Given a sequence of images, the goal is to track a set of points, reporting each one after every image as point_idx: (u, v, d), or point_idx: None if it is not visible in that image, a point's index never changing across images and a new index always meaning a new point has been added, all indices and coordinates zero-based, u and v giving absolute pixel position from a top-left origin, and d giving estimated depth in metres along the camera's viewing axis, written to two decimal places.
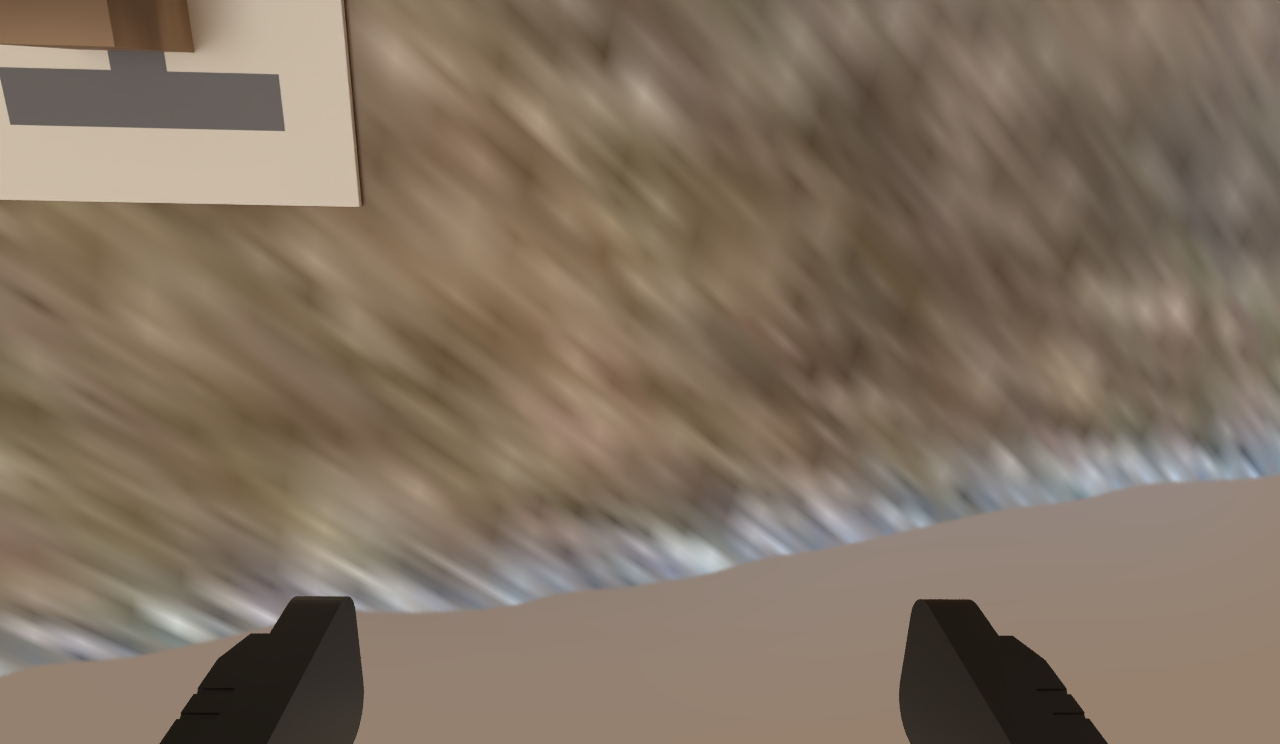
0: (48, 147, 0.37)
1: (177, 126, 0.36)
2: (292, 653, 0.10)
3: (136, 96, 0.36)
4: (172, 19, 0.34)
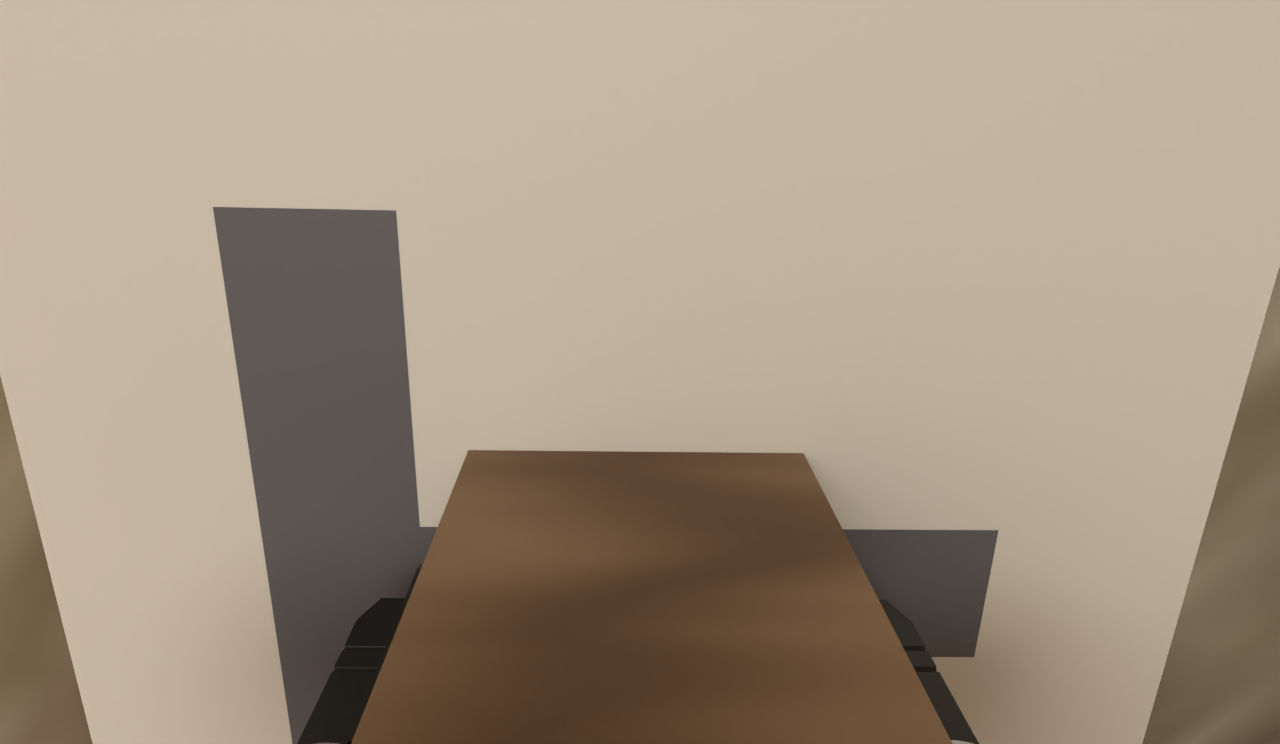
0: (160, 309, 0.11)
1: (286, 660, 0.13)
2: None
3: (353, 578, 0.13)
4: None
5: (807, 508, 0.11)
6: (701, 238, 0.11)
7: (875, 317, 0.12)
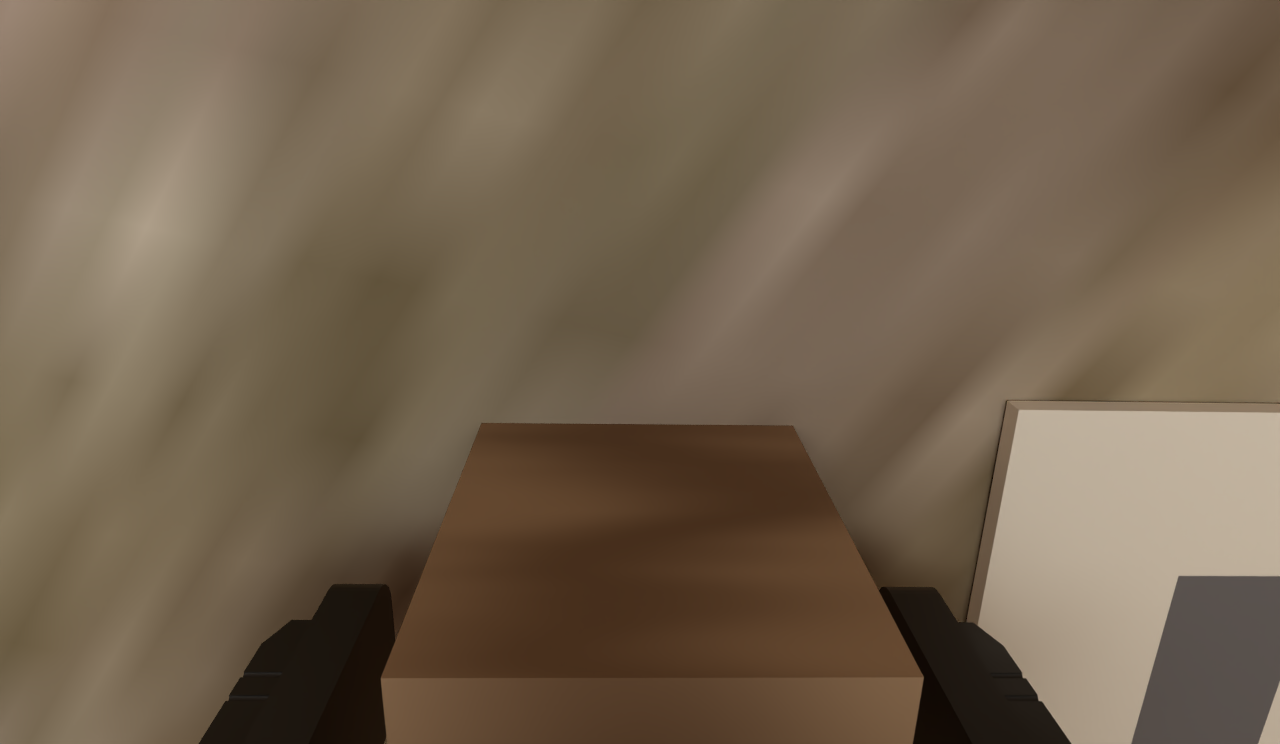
0: (1107, 645, 0.14)
1: None
2: (335, 638, 0.10)
3: None
4: None
5: (793, 471, 0.12)
6: None
7: None
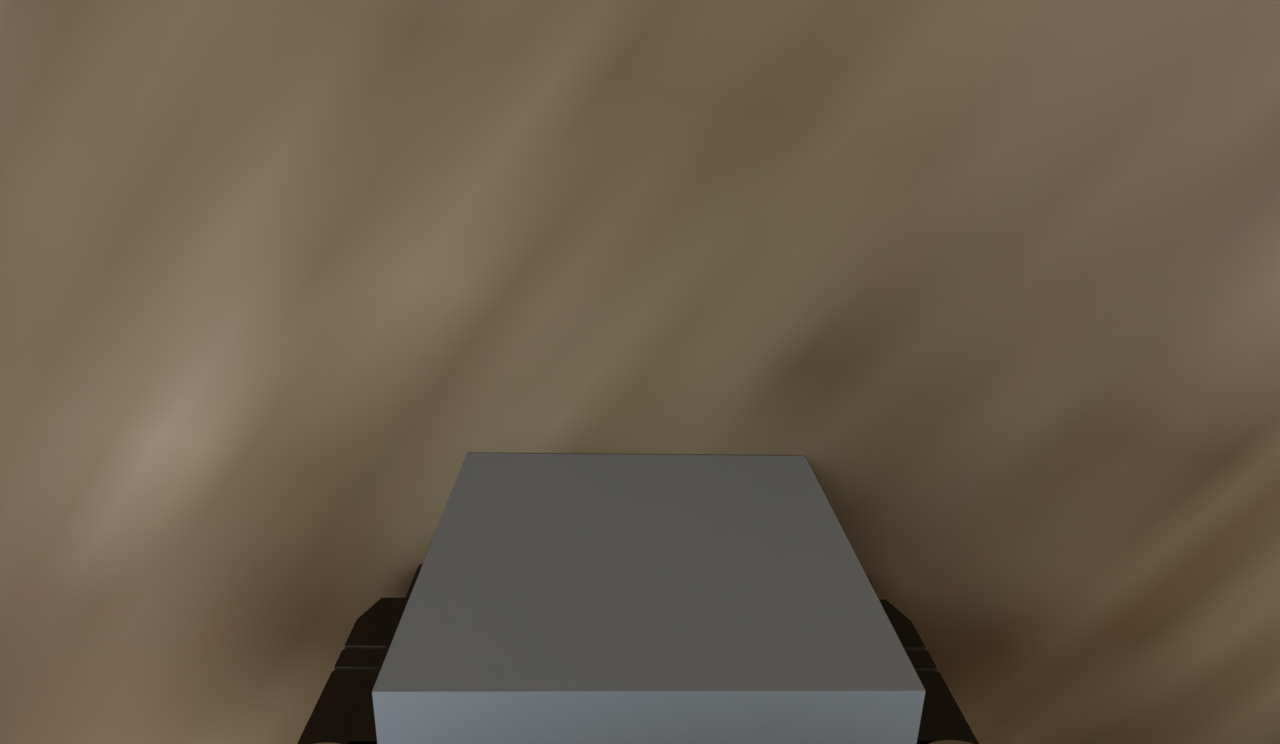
0: None
1: None
2: None
3: None
4: None
5: None
6: None
7: None
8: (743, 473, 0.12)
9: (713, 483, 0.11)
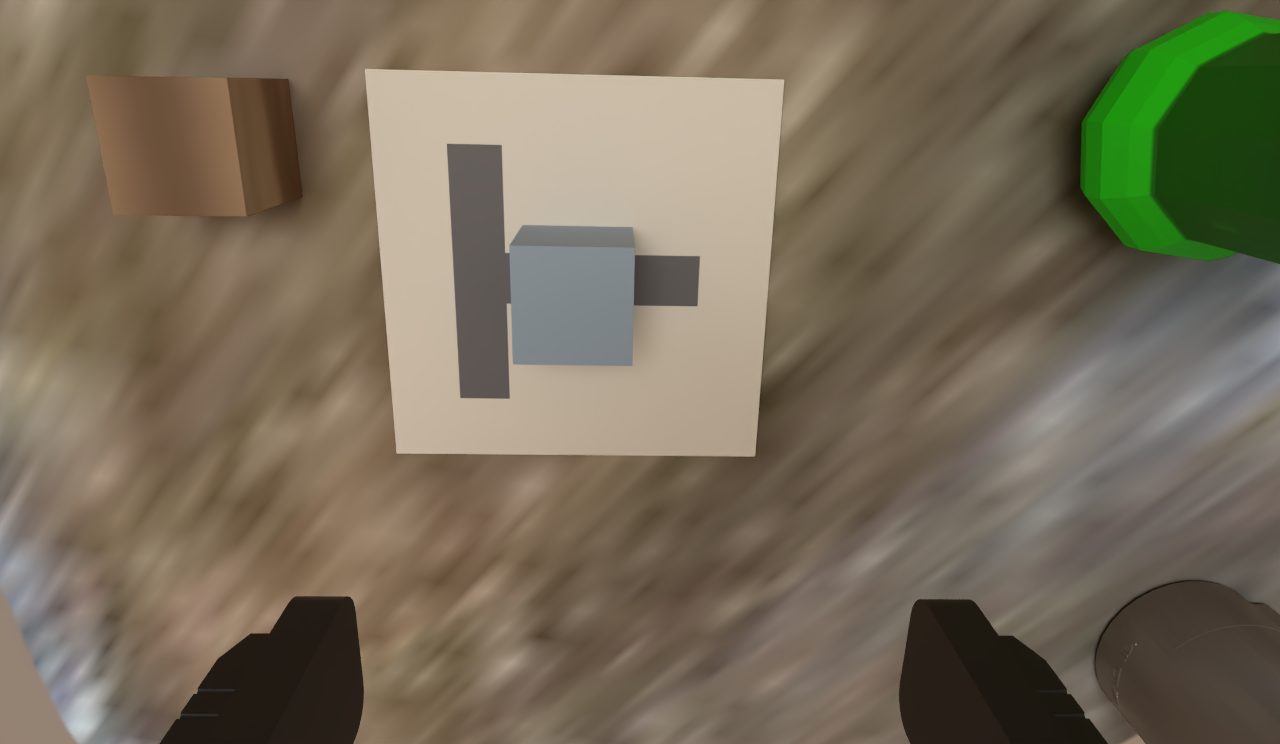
0: (427, 176, 0.36)
1: (457, 304, 0.38)
2: (292, 653, 0.10)
3: (482, 271, 0.38)
4: None
5: None
6: (594, 153, 0.36)
7: (651, 179, 0.37)
8: (610, 228, 0.37)
9: (599, 229, 0.36)
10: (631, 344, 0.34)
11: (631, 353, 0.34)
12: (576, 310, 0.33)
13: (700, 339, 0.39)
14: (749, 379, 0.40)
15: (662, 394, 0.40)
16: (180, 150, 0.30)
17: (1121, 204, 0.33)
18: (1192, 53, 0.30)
